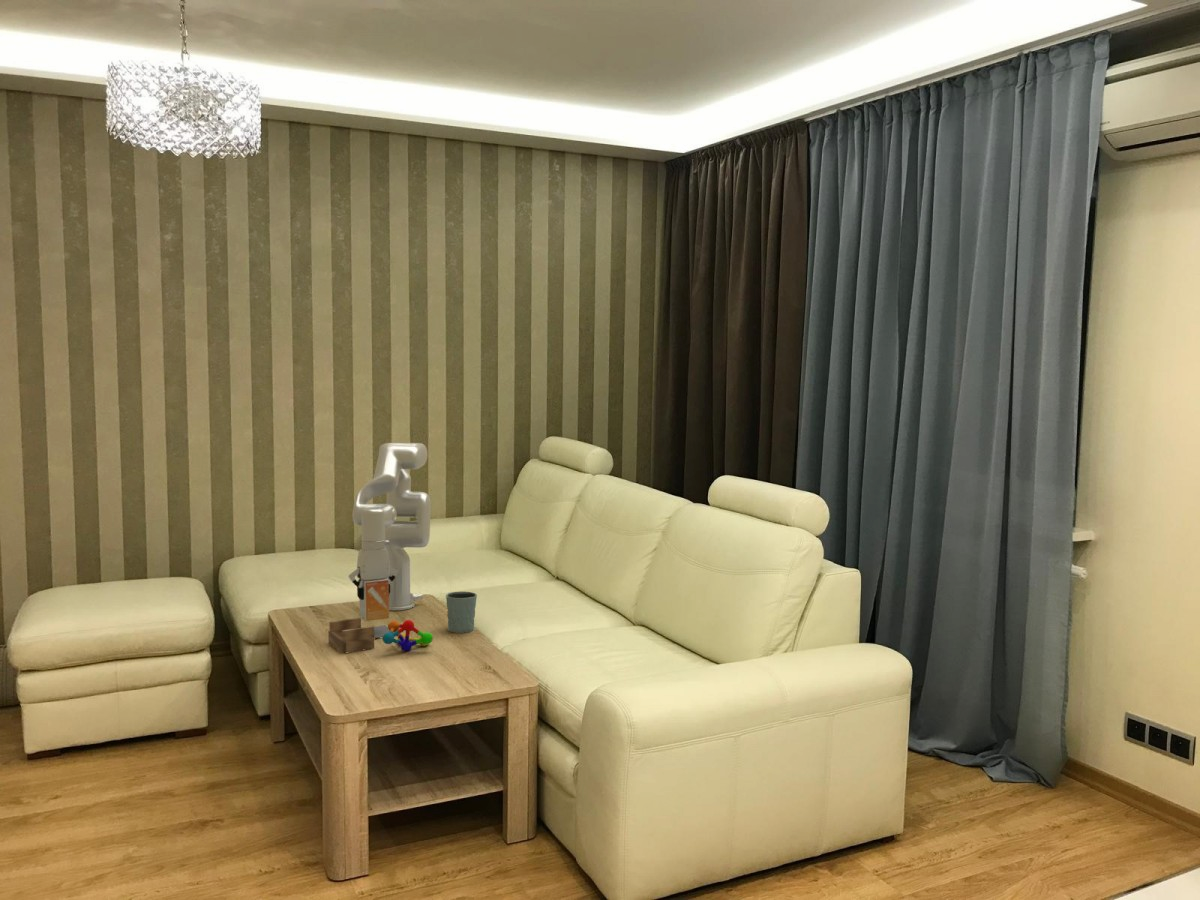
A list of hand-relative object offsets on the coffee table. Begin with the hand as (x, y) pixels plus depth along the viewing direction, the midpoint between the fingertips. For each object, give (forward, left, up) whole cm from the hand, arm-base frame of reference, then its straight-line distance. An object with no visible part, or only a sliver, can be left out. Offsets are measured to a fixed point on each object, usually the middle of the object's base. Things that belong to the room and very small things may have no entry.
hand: (373, 597), depth 338 cm
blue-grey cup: (-27, +10, -13) cm, 31 cm away
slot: (+11, +9, -12) cm, 19 cm away
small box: (0, +1, -7) cm, 7 cm away
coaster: (0, 0, -12) cm, 12 cm away
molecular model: (-3, +22, -13) cm, 26 cm away
